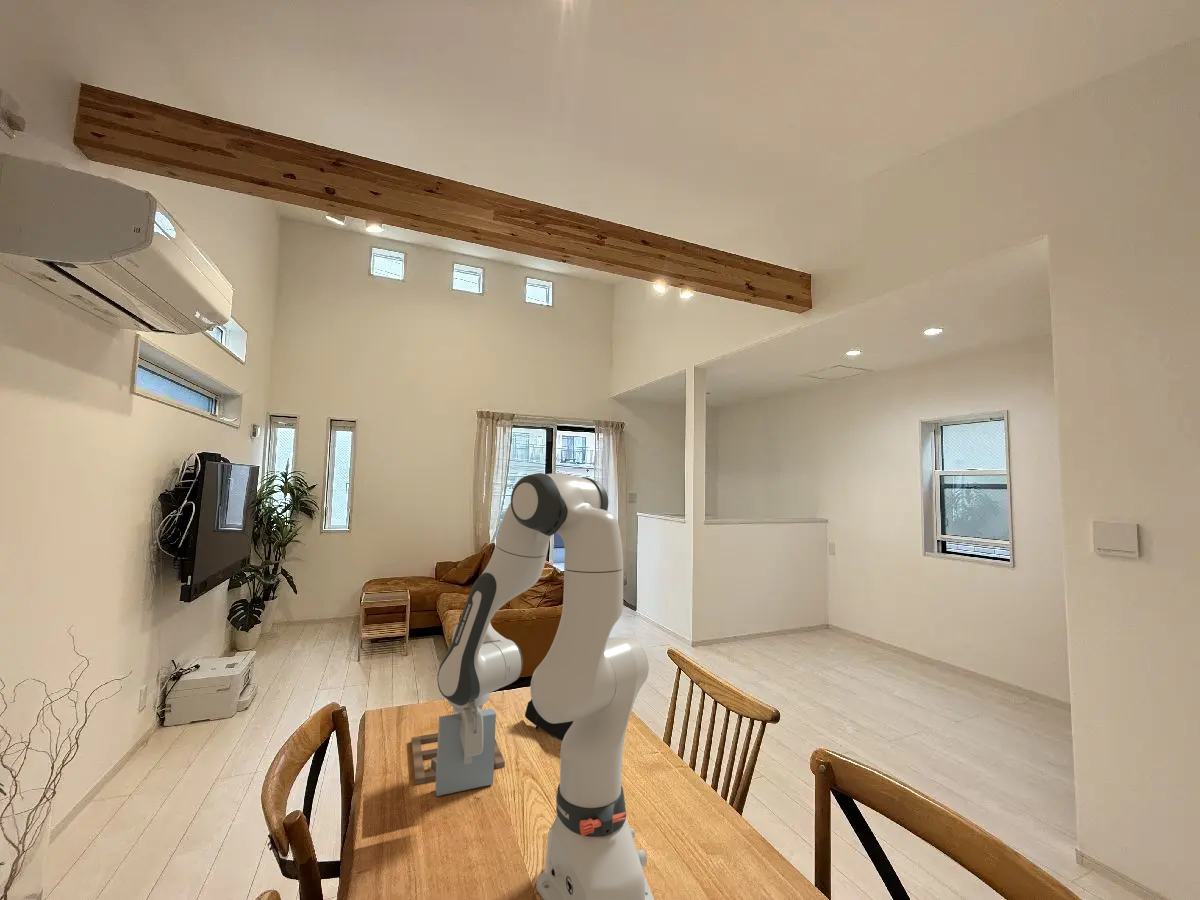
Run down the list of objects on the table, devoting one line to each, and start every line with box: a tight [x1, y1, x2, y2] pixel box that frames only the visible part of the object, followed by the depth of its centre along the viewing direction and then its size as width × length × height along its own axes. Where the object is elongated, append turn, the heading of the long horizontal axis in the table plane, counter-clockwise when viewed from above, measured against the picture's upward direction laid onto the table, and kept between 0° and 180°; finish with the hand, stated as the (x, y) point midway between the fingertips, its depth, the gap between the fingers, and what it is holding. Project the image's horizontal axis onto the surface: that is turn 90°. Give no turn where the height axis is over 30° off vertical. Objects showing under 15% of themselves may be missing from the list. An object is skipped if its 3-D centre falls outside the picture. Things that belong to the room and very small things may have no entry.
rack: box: [410, 732, 506, 786], centre depth 121 cm, size 20×20×2 cm
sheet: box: [434, 708, 497, 797], centre depth 108 cm, size 3×12×15 cm, turn 113°
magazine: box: [524, 698, 573, 742], centre depth 132 cm, size 17×3×30 cm
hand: (466, 757), depth 108 cm, fingers closed on sheet, 3 cm apart
